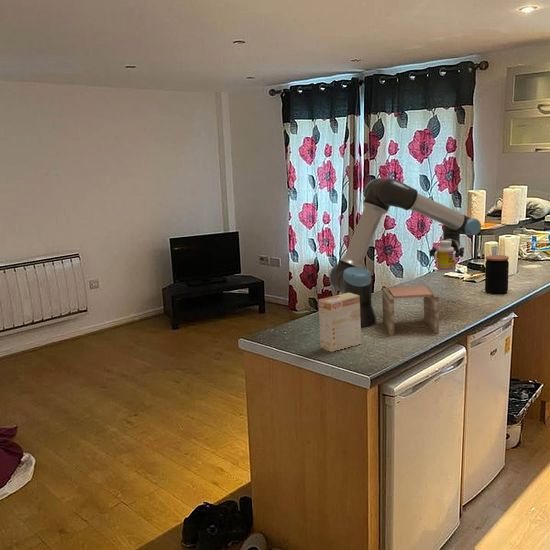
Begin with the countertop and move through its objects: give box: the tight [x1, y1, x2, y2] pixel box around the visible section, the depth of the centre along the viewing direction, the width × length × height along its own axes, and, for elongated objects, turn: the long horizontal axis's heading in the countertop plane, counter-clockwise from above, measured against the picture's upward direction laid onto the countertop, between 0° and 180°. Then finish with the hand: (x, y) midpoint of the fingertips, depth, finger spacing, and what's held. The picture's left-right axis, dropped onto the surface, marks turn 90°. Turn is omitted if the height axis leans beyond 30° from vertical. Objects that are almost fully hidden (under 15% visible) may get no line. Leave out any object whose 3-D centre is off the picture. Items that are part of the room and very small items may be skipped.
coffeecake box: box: [318, 293, 362, 351], centre depth 209 cm, size 15×7×20 cm, turn 123°
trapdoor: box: [386, 285, 432, 299], centre depth 227 cm, size 15×16×1 cm
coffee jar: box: [484, 254, 510, 295], centre depth 274 cm, size 11×11×18 cm
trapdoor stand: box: [381, 285, 440, 336], centre depth 228 cm, size 19×20×15 cm
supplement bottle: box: [436, 240, 455, 273], centre depth 236 cm, size 7×7×13 cm
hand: (444, 256), depth 231 cm, fingers closed on supplement bottle, 7 cm apart
